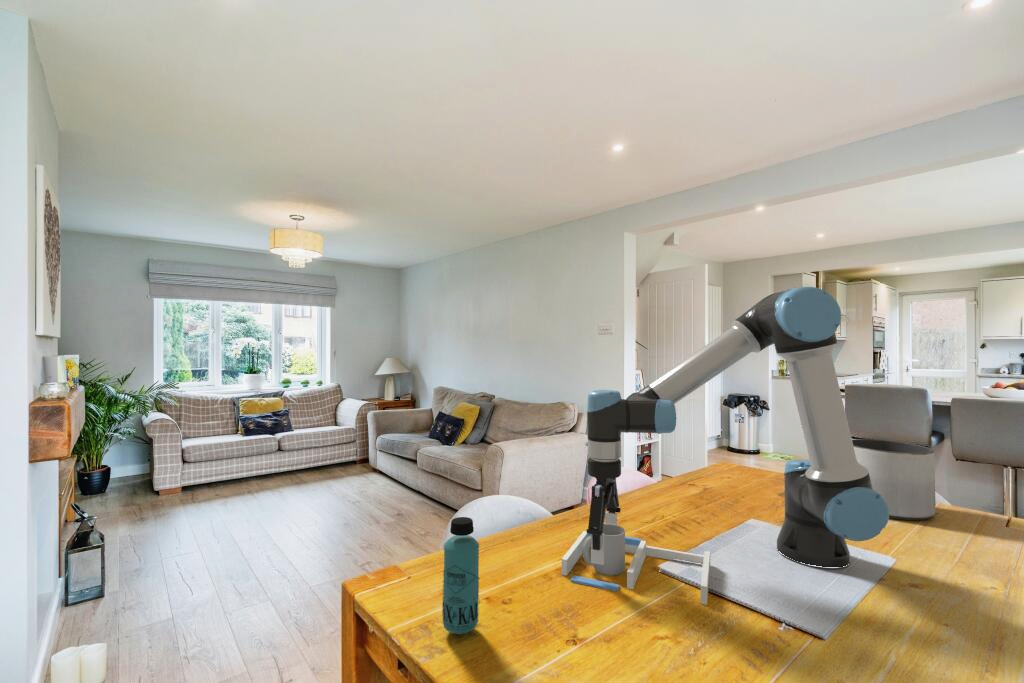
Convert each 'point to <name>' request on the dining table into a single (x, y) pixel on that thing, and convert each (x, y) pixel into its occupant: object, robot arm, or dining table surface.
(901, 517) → the planter
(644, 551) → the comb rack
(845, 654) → the dining table surface
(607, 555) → the cup
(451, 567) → the beverage bottle
